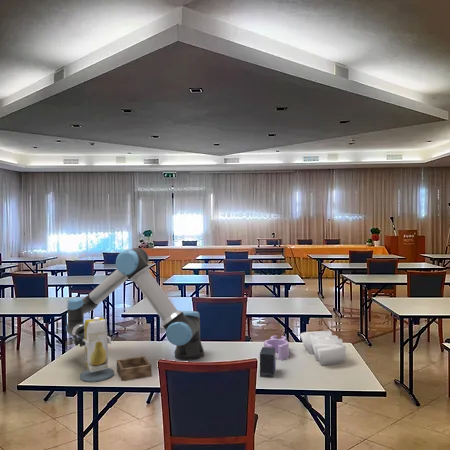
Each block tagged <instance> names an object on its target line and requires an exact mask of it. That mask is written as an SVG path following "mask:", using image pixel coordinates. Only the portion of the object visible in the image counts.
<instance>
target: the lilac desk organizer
mask: <svg viewBox="0 0 450 450" xmlns="http://www.w3.org/2000/svg"><path fill="white" fill-rule="evenodd" d="M277 336H278V335H272V336H270V338H269V339H266V340H264V341H263V347H269V348H275V354H277V356H278V357H277V358H278V360H279V361H283V360H285V359H288V358H289V355H290V351H289V349H290V348H289V343H290V342H289V341H288V340H287V336H285V335H281V336H280V338H277Z"/></svg>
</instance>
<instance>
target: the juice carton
mask: <svg viewBox="0 0 450 450" xmlns="http://www.w3.org/2000/svg"><path fill="white" fill-rule="evenodd" d="M107 333H108V325H107V319H105V318H104V317H98V316H95V317H93V319H92V318H91V319H85V321H84V339H85V340H87V341H88V342H89V348H86V347H85V346H84V361H85V363H84V364H85V367H86V369H87V370H89V371H90V372H95V371H99V370H104V369H107V368H108V363H109V351H108V350H109V349H108V347H109V345H108V344H109V343H108V342H107Z"/></svg>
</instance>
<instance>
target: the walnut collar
mask: <svg viewBox="0 0 450 450" xmlns="http://www.w3.org/2000/svg"><path fill="white" fill-rule="evenodd" d="M116 372H117V374H118V376H119V379H120V381H121V382H124V381H128V380H135V379H140V378H141V379H142V378H148V377H152V364H151V363H150V362H149V360H148V359H147V357H146V356H145V355H144V356H136V357H129V358H123V359H121V358H120V359H116Z"/></svg>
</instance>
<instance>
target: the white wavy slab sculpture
mask: <svg viewBox="0 0 450 450" xmlns="http://www.w3.org/2000/svg"><path fill="white" fill-rule="evenodd" d="M299 337H300V339H301V341H302V343H303V346H304V349H305V351H306V352H308V354H309V355H310V356H311V355H313V356H314V357H315V361H316V362H318V364H319V365H320V366H331V365H337V364H342V363H344V362H345V361H346V350H347V346H346V345H345V344H344V345H343V339H342V338H339V336H337V335H335V334H333V332H332V330H319V331H304V332H301V333H300V334H299Z"/></svg>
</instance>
